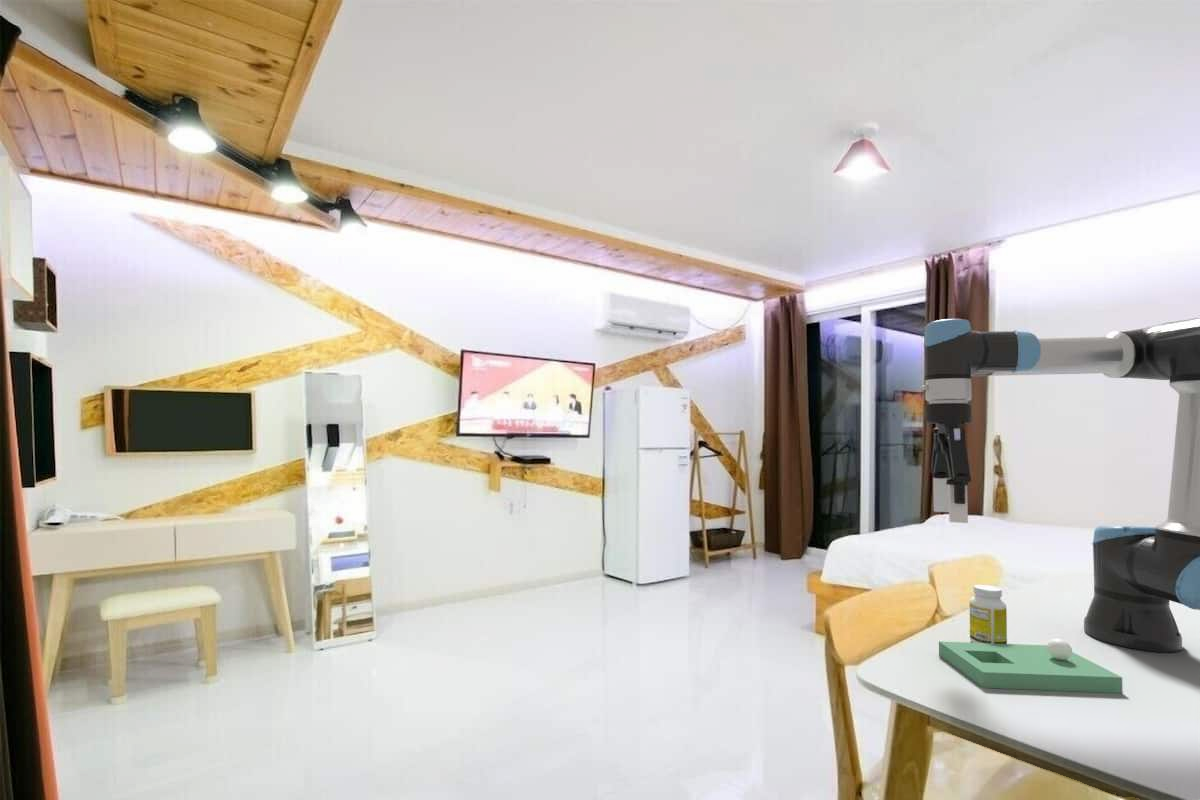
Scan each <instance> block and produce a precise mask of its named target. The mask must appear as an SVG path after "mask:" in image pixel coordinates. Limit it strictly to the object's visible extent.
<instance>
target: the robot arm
mask: <svg viewBox="0 0 1200 800" xmlns="http://www.w3.org/2000/svg"><path fill="white" fill-rule="evenodd" d="M923 336H924V338H923V348H924V349H923V350H924V380H925V381H924V384H923V385H921V390H922V391H925V392H924V393H925V396H924V398H925V401H927V402H928V403H927V404H925V406H924V409H925V410H924V411H925V413H924V415H925V419H924V420H925V422H926V423H927V424H935V425H936V424H937V425H938V426H937V427H934V428H933V429H932V432H933V441H932V442H933V443H932V455H931V466H930V470H929V471H930V473H931V474H932V475H931V476H932V477H933V478H932V481H933V483H932V486H933V493H932V495H933V512H936V513H948V515H949V516H948V517H949V519H948V521H949V523H959V524H968V523H969V511H968V510H969V508H968V507H969V506H968V505H969V503H968V501H969V500H968V499H969V497H968V485H969V483H972V482H971V481H972V477H971V472H970V465H969V464H970V463H969V457H968V450H967V443H966V429H965V428H960V425H962V424H966V425H969V424H971V423H972V421H973V420H972V409H973V407H972V405H971V403H969V401H971V400H972V399H973V398H972V391H973V390H972V377H989V376H990V377H992V376H998V377H999V376H1032V375H1033V376H1034V375H1035V376H1037V375H1038V376H1040V375H1042V376H1044V375H1046V376H1047V375H1078V374H1079V375H1080V374H1082V375H1083V374H1089V375H1090V374H1091V375H1092V374H1102V375H1104V376H1106V377H1107V378H1109V379H1110V378H1111V379H1121V378H1122V379H1143V380H1159V381H1169V382H1168V383H1169V386H1170V388H1172V389H1173V390H1174V391H1175V392H1177V394H1178V395H1179V396H1178V406H1177V413H1176V414H1177V415H1176V416H1177V417H1176V425H1175V437H1174V438H1175V439H1174V447H1173V455H1172V456H1173V459H1172V468H1171V479H1170V488H1169V498H1168V501H1169V502H1168V509H1167V510H1168V511H1167V519H1166V520H1165V521H1163V522H1161V523H1159V524H1158V525H1156V526H1155V527H1154V526H1133V525H1132V526H1131V525H1130V526H1129V525H1128V526H1127V525H1100V526H1096V527H1095V529H1094V531H1093V540H1092V551H1093V552H1092V553H1093V597H1092V600H1091V602H1090V605H1089V607H1088V610H1087V613H1086V616H1085V617H1084V618H1083V631H1084V633H1085V634H1087V635H1088V636H1090V637H1092V638H1094V639H1098V640H1100V641H1103V642H1106V643H1108V644H1112V645H1117V646H1120V647H1121V646H1122V647H1125V648H1129V649H1134V650H1140V651H1147V652H1157V653H1158V652H1159V653H1176V652H1180V651H1182V650H1183V637H1182V634H1181V633H1180V631H1179V627H1178V624H1177V622H1176V620H1175V617H1174V614H1173V613H1172V609H1171V606H1170V602H1174V603H1178V604H1180V605H1183V606H1185V607H1187V608H1189V609H1192V610H1198V611H1200V316H1199V317H1193V318H1187V319H1183V320H1177V321H1171V322H1165V323H1161V324H1158V325H1152V326H1148V327H1144V328H1139V329H1133V330H1127V331H1125V330H1124V331H1112V332H1108V333H1106V334H1105V335H1104V336H1101V337H1100V336H1093V337H1090V336H1089V337H1057V338H1056V337H1054V338H1052V337H1050V338H1038V337H1037V336H1036V335H1035V334H1034V333H1032V332H1031V331H1030V332H1029V331H1018V330H1013V331H1011V330H1009V331H1007V330H1005V331H1004V330H1003V331H998V330H997V331H975V330H972V327H971V323H970V321H969V320H968V319H964V318H963V319H962V318H946V319H945V318H944V319H939V320H938V319H937V320H934V321H931V322H928V323H927V324H926V325H925V328H924V335H923Z"/></svg>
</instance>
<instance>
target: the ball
mask: <svg viewBox="0 0 1200 800" xmlns="http://www.w3.org/2000/svg"><path fill="white" fill-rule="evenodd" d="M1047 650H1048V652H1049V654H1050V655H1051V656H1052V657H1054V658H1055V659H1058V660H1067V659H1069V658H1070V657H1071V655H1072V652H1073V648H1072V647H1071V645H1070V644H1069V643H1068V642H1067V641H1065V639H1062V638H1052V639H1050V640H1049V641H1048V642H1047Z"/></svg>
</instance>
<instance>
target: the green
mask: <svg viewBox="0 0 1200 800" xmlns="http://www.w3.org/2000/svg"><path fill="white" fill-rule="evenodd" d="M938 656H939V657H941V658H942V659H943V660H945V661H946V662H947V663H949V664H950V665H952V666H953V667H955V669H957V670H959V671H960V672H961V673H963V674H964V675H965V676H966V677H968V678H969V679H970V680H972V681H973V682H974V683H976V684H977V685H978V686H980V687H981V688H984V689H1007V690H1032V691H1034V690H1035V691H1053V692H1055V691H1056V692H1057V691H1061V692H1080V693H1081V692H1082V693H1085V692H1086V693H1104V694H1105V693H1110V694H1123V677H1122V676H1120V675H1118V674H1117V673H1114V672H1113V671H1110V670H1108V669H1107V668H1104V667H1103V666H1101V665H1099V664H1097V663H1095V662H1093V661H1091V660H1089V659H1087V658H1085V657H1083V656H1081V655H1079V654H1077V653H1076V652H1073V651H1072V655H1071V657H1070V658H1069V659H1067V660H1058V659H1055V658H1054V657H1052V656H1051V655H1050V654H1049V652H1048V650H1047V645H1045V644H1018V643H1017V644H1016V643H1015V644H1014V643H1007V644H995V643H973V642H962V641H960V642H959V641H938Z"/></svg>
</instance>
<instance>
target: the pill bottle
mask: <svg viewBox="0 0 1200 800" xmlns="http://www.w3.org/2000/svg"><path fill="white" fill-rule="evenodd" d="M1002 590H1003V589H1002V588H1000V587H997V586H995V585H987V584H975V585H973V594H974V596H972V597H970V599H969V638H970V639H969V640H970V641H971V643H995V644H1008V627H1007V626H1008V625H1007V623H1008V620H1007V619H1008V618H1007V617H1008V616H1007V615H1008V614H1007V604H1006V603H1005V602H1004V601H1003V600H1002V599H1001V598H1002V596H1003V591H1002Z"/></svg>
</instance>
